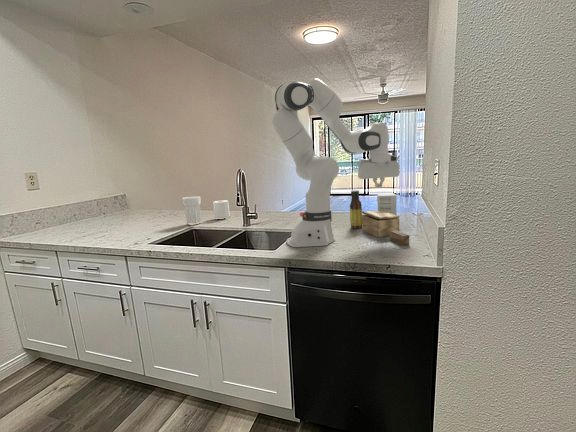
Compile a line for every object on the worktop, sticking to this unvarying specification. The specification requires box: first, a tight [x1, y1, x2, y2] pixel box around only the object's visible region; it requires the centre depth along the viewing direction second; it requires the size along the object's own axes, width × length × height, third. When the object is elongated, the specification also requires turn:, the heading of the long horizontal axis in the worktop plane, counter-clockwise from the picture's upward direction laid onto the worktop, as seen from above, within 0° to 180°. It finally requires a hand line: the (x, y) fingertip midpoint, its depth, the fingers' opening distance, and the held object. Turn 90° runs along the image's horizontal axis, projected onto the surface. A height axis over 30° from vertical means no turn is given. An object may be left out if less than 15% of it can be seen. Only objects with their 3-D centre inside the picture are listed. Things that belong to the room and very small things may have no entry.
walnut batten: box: [390, 230, 410, 247], centre depth 142 cm, size 3×10×4 cm, turn 12°
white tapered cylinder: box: [212, 199, 231, 219], centre depth 223 cm, size 10×10×12 cm
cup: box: [181, 195, 202, 224], centre depth 210 cm, size 11×11×17 cm
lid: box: [362, 210, 400, 219], centre depth 160 cm, size 11×17×1 cm
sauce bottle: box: [349, 189, 363, 229], centre depth 173 cm, size 7×6×20 cm
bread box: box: [361, 214, 400, 238], centre depth 161 cm, size 11×17×8 cm
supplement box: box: [376, 192, 398, 215], centre depth 174 cm, size 10×9×17 cm
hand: (378, 187), depth 157 cm, fingers closed
